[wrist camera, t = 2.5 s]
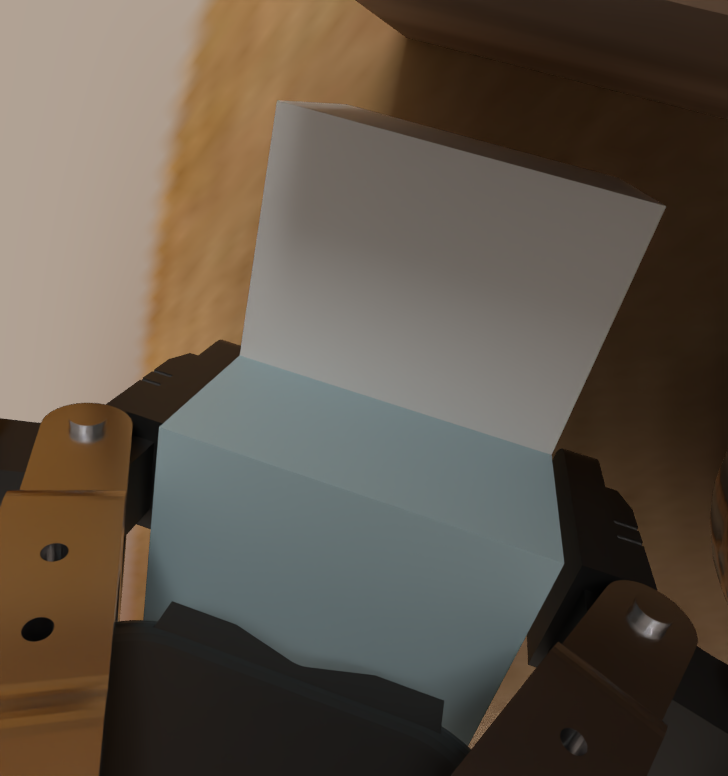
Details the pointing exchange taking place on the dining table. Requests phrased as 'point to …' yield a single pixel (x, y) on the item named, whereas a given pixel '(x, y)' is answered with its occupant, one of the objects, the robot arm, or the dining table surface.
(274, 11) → the dining table surface
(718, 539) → the vase
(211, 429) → the cabinet
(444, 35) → the wall board
